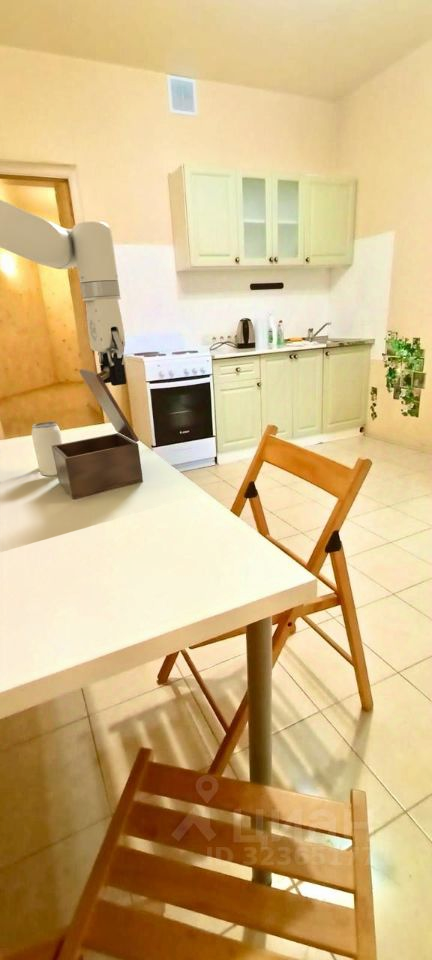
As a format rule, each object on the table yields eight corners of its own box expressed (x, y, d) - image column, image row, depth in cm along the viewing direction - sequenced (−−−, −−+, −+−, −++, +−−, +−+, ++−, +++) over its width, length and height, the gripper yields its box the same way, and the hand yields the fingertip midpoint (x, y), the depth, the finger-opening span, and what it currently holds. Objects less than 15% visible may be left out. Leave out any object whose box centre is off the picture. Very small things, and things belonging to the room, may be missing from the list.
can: (49, 467, 114) (39, 421, 109) (72, 467, 112) (63, 421, 108) (34, 476, 108) (24, 428, 104) (59, 476, 106) (49, 427, 102)
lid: (95, 375, 88) (118, 361, 89) (78, 370, 98) (99, 358, 100) (136, 442, 96) (156, 428, 98) (116, 431, 106) (135, 419, 108)
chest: (72, 499, 92) (65, 459, 89) (59, 482, 103) (51, 445, 100) (143, 481, 100) (138, 443, 96) (123, 467, 110) (118, 432, 107)
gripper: (71, 296, 95) (86, 382, 102) (95, 290, 82) (110, 390, 88) (105, 294, 99) (117, 378, 105) (133, 288, 85) (145, 384, 91)
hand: (114, 382), depth 97 cm, fingers closed on lid, 5 cm apart
